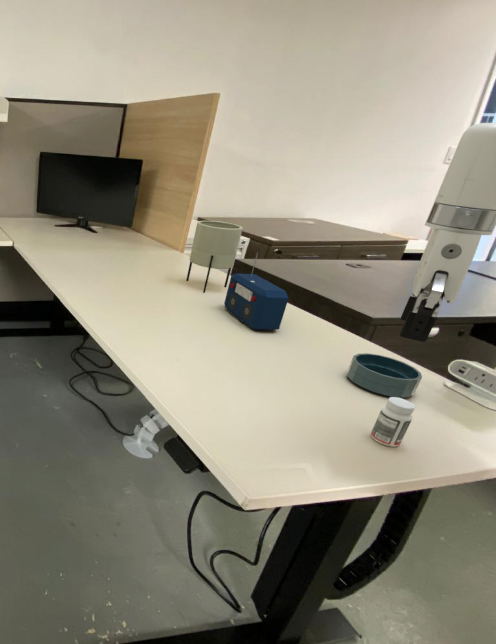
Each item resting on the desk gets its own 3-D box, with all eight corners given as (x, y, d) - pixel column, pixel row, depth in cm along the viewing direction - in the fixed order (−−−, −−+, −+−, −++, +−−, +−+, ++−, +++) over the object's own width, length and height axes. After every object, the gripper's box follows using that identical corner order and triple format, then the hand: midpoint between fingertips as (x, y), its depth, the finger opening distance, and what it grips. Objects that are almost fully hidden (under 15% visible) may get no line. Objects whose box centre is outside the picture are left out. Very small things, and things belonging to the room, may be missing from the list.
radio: (219, 307, 153) (234, 247, 145) (244, 307, 154) (260, 248, 146) (252, 332, 135) (271, 265, 126) (280, 333, 136) (301, 266, 127)
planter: (236, 293, 168) (253, 229, 159) (195, 293, 166) (210, 228, 156) (215, 281, 182) (230, 221, 172) (177, 280, 179) (190, 219, 170)
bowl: (427, 397, 105) (436, 378, 103) (380, 401, 102) (389, 381, 100) (376, 370, 117) (384, 352, 115) (333, 372, 114) (340, 354, 112)
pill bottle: (391, 434, 91) (409, 397, 87) (404, 449, 86) (423, 411, 83) (365, 430, 91) (381, 394, 88) (377, 445, 87) (394, 407, 83)
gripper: (505, 231, 58) (445, 354, 65) (488, 217, 71) (439, 322, 78) (430, 221, 62) (381, 338, 69) (427, 210, 74) (385, 310, 82)
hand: (412, 329), depth 73 cm, fingers open, 9 cm apart
